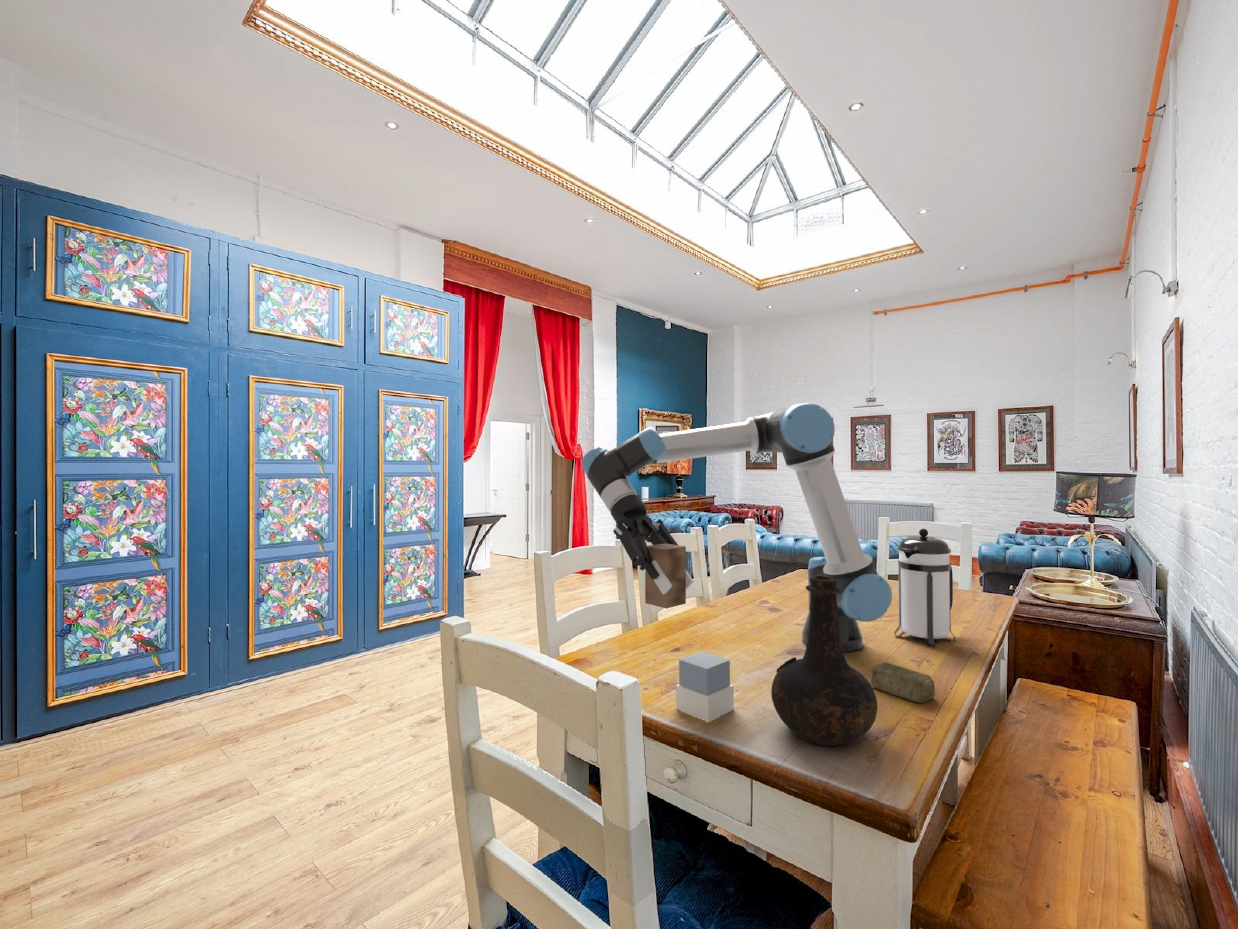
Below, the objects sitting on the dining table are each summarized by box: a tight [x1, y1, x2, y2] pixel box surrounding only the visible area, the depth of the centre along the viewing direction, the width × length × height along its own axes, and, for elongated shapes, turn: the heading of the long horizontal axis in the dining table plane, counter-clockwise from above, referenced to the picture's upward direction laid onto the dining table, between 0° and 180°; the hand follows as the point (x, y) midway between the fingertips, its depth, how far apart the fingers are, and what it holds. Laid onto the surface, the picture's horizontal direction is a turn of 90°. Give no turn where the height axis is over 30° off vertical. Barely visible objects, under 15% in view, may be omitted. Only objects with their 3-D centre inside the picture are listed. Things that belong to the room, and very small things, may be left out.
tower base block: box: [675, 683, 735, 723], centre depth 111 cm, size 8×8×5 cm
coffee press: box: [893, 528, 956, 647], centre depth 155 cm, size 17×16×30 cm
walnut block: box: [644, 544, 687, 609], centre depth 118 cm, size 6×6×12 cm
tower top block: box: [678, 651, 731, 696], centre depth 111 cm, size 7×7×5 cm
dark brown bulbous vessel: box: [770, 576, 878, 747], centre depth 100 cm, size 18×18×28 cm
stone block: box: [870, 662, 936, 704], centre depth 118 cm, size 6×12×5 cm, turn 35°
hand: (678, 587), depth 116 cm, fingers closed on walnut block, 6 cm apart
